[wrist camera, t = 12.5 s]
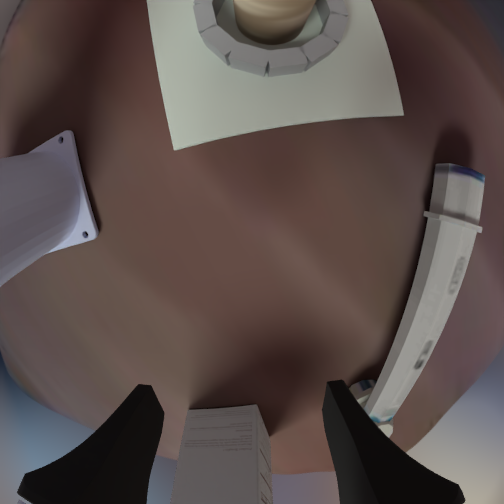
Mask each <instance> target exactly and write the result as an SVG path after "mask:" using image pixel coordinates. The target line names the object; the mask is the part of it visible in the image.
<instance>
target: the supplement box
mask: <svg viewBox="0 0 504 504" xmlns="http://www.w3.org/2000/svg"><path fill="white" fill-rule="evenodd" d="M170 504H273V496H272V472H271V445H270V438H269V435H268V433H267V430H266V428H265V425H264V422H263V420H262V417H261V414H260V411H259V409H258V406H257V405H256V404H255V405H247V406H239V407H228V408H215V409H196V410H188V411H187V416H186V421H185V426H184V431H183V436H182V442H181V447H180V452H179V457H178V463H177V468H176V474H175V479H174V485H173V490H172V496H171V502H170Z"/></svg>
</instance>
